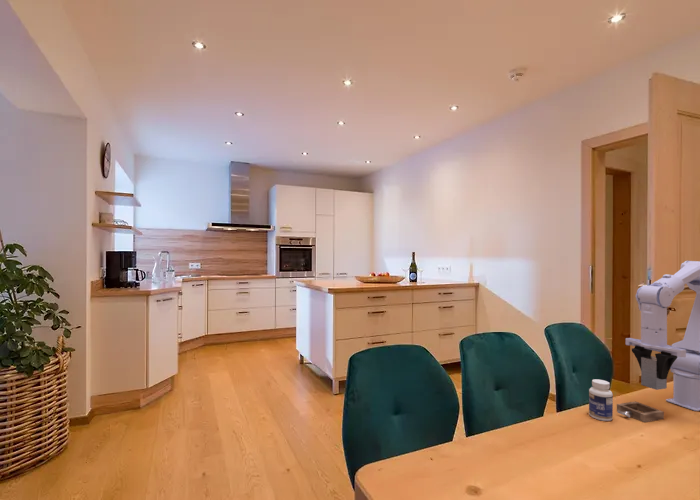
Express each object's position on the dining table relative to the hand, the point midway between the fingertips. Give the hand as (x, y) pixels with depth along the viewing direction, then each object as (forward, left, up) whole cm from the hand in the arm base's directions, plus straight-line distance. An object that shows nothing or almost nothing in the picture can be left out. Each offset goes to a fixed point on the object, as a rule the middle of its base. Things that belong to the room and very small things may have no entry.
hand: (653, 376), depth 105 cm
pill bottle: (+18, -2, -11) cm, 21 cm away
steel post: (0, 0, -3) cm, 3 cm away
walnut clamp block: (+7, 0, -10) cm, 12 cm away
